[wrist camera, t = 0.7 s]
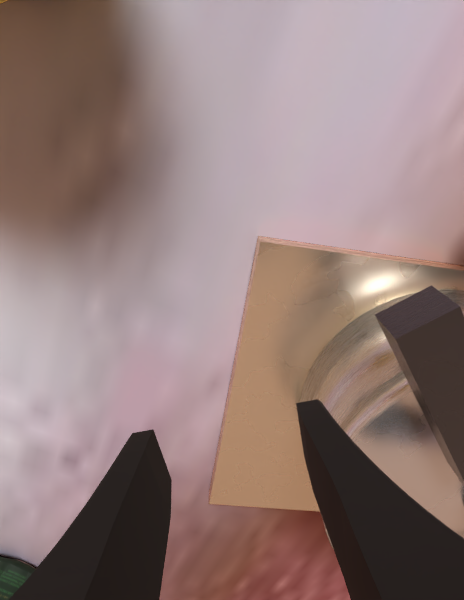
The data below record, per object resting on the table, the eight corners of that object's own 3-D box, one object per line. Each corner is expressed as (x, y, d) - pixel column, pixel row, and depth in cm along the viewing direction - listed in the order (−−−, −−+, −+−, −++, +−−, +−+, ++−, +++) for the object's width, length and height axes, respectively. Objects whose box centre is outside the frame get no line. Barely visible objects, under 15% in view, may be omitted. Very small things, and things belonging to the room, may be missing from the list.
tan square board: (637, 213, 20) (799, 247, 14) (465, 509, 29) (524, 600, 23) (274, 151, 18) (302, 162, 12) (209, 490, 27) (208, 585, 21)
